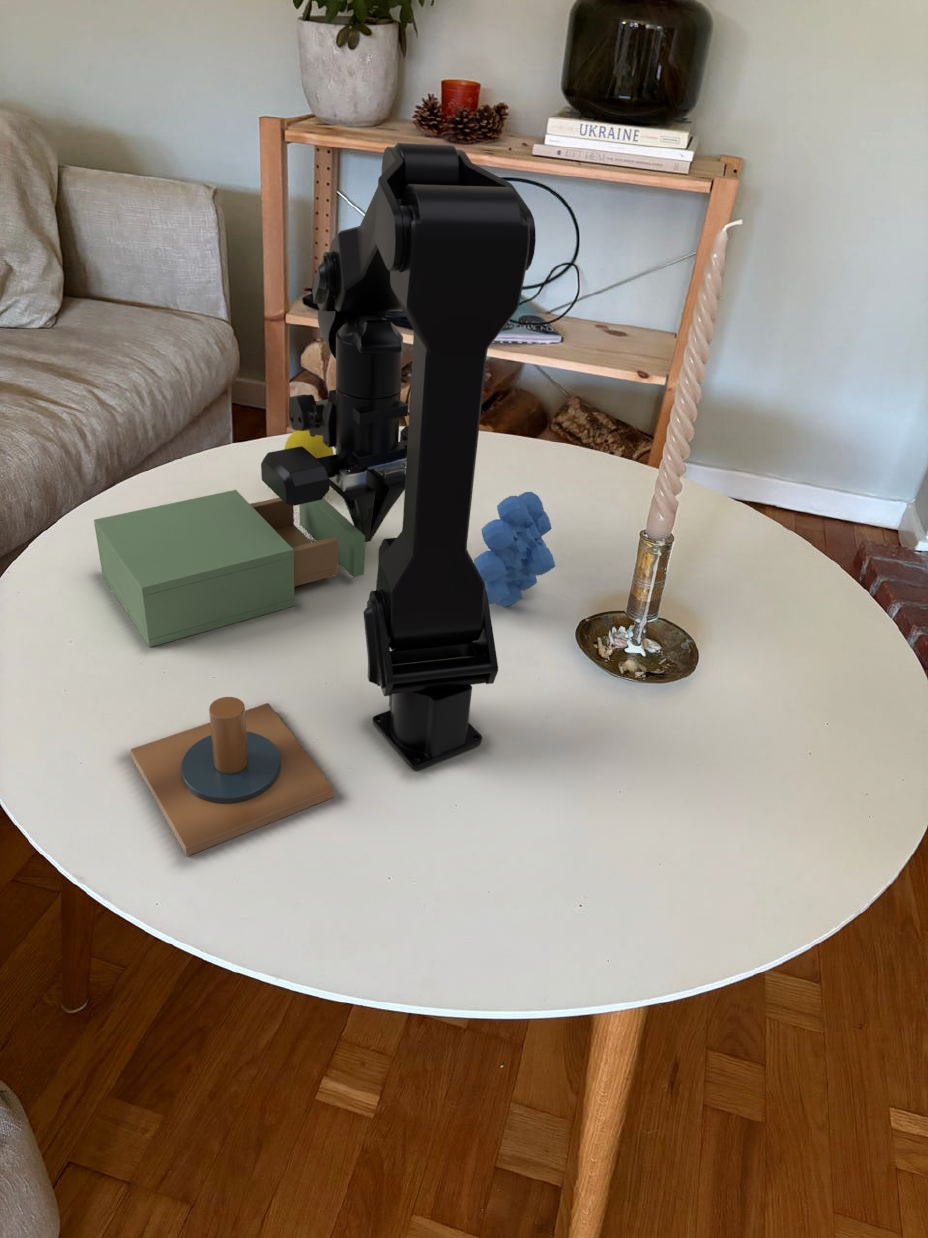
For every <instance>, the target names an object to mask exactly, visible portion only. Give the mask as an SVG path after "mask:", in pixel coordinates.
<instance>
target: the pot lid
mask: <svg viewBox="0 0 928 1238" xmlns="http://www.w3.org/2000/svg"><path fill="white" fill-rule="evenodd" d="M208 711H209V712H208V713H209V723H210V725H211V735H210V736H207V737H205V738H203V739H201V740H200V741H198V742H196V743H195V744H194V745H193V746H192V747H191V748H190V749H189V750H188V751H187V752H186V754H185V756H184V758H183V760H182V763H181V775H182V779H183V782H184V784H185V786H186V787H187V789H188V790H189V791H190V792H191V793H193V794H194V795H195V796H197V797H199V798H201V799H203V800H206V801H210V802H214V803H237V802H242V801H246V800H249V799H252V798H254V797H257V796H259V795H260V794H262V793H264V792H265V791H266V790H268V789H269V788H270V787H271V786H272V785H273V784H274V782H275V781H276V779H277V778H278V776H279V773H280V769H281V759H280V754H279V752H278V750H277V748H276V747H275V745H274V744H273V743H272V742H271V741H269V740H268V739H267V738H265V737H263V736H261V735H259V734H256V733H252V732H248V731H246V717H245V711H246V706H245V703H244V702H243V701H242V700H241V699H240V698H238V697H235V696H223V697H219V698H216V699H215V700H213V702H211V704H210V705H209V708H208Z"/></svg>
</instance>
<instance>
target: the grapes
mask: <svg viewBox="0 0 928 1238" xmlns="http://www.w3.org/2000/svg"><path fill="white" fill-rule="evenodd" d="M496 510H497V514H498V517H499V519H498V518H497V519H496V518H495V519H493V520H491V521H489V522H487V523H486V524H485V525H484V526H483V527H482V528H481V530H480V531H481V537H482V539H483V542H484V544H485V545H486V547H487V548H488V550H485V551H484V552H482V553H480V554H479V555H478V556H477V557H475V558H474V559H473V562H474V564H475V566H476V568H477V569H478V571H479V573H480V575H481V577H482V579H483V581H484V583H485V589H486V592H487V597H488V602H489V605H493V604H498V605H499V606H501V607H503V608H506V607H510V606H513V605H515V604H517V603H518V602H519V601H521V599H523V595H522V592H524V591H526V590H528V589H531V588H532V587H534V586H535V585H536V584H537V583H538V580H537V576H543V575H546V574H547V573H549V572H550V571H552V570H553V569H554V568H555V567H556V564H555V559H554V556H553V553H552V552H551V550H550V549H549V547H547V544H546V543H545V541H544V540H543V536H544V535H547V534H548V533H549V532H550V531H551V530H552V529H553V528H552V524H551V520H550V517H549V516H548V513H547V512H546V511H545V508H544V505H543V502H542V500H541V498H540V496H539V495H538V494H536V493H535V492H532V491H526V492H523V493H521V494H519V495H509V496H507V497H506V498H504V499H503V500H501V501H500V502H499V503H498V504H497V505H496Z"/></svg>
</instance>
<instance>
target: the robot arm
mask: <svg viewBox="0 0 928 1238" xmlns="http://www.w3.org/2000/svg"><path fill="white" fill-rule="evenodd" d="M377 181H378V182H377V187H376V189H375V192H374V193H373V196H372V198H371V200H370V202H369V205H368V207H367V209H366V212H365V214H364V216H363V217H362V221H361V222H360V225H359V226H355V227H350V228H348V229H346V228H345V229H343V230H342V229H341V230H340V231H339V232H338V233H337V234H336V235H335V236H334V237H333V239H332V240H331V242H330V246H329V251H324V252H323V255H322V261H321V263H320V264H319V265H318V266H317V269H316V273H315V277H314V281H313V285H312V290H311V291H312V302H313V304H315V305H317V307H318V311H317V324H318V328H319V330H320V333H321V334H322V336H323V339H324V341H325V342H326V345H327V347H328V348H329V351H330V353H331V355H332V356H333V358H334V359H335V389H331V390H328V394H327V399H321V400H316V398H315V396H314V395H313V394H298V395H293V396H289V398H288V399H289V400H288V417H289V422H290V426H291V428H292V430H294V431H306V430H309V433H310V436H311V437H315V435H319V436H323V443H324V444H325V445H326V446H327V447H329V448H330V447H332V448H334V449H335V454H334V455H330V456H325V457H320V458H315V457H314V456H313V455H312V454H311V453H310V452H308V451H307V450H306V449H305V448H304V447H303V446H300V447H295V448H290V449H284V448H283V449H279V450H274V451H269V452H267V453H266V454H265V456H264V457H263V459H262V461H261V463H260V471H261V481H262V482H263V483H264V484H265V485H266V486H267V487H268V488H269V489H270V490H271V491H272V492H273V493H274V494H275V495H276V496H277V498H280V499H281V500H282V501H283V502H285V503H286V504H288V505H294V507H296V506H299V505H300V504H305V503H309V502H313V501H318V500H322V498H325V496H326V495H327V494H328V492H329V491H330V488H331V490H333V491H334V492H335V493H336V494H338V495H339V496H340V497H341V498H342V499H343V502H344V503H345V505H346V509H347V510H348V514H349V516H350V519H351V521H352V524H353V525H354V526H355V527H356V528H357V529H358V530H359V531H360V532H361V533H362V534H363V535H365V544H366V543H370V542H372V540H373V538H374V537H375V535H376V533H377V532H378V530H379V528H380V527H381V526H382V524H383V522H384V520H385V518H386V517H387V515H388V514H389V512H390V510H391V509H392V508H393V506H394V505H395V504H396V503H397V501H398V500H399V499H400V497H401V496H402V495H403V494H404V495H403V514H402V528H401V531H400V533H399V534H398V535H397V537H388V538H387V537H386V538H383V540H382V541H381V543H380V545H379V547H378V550H377V553H378V557H377V559H378V564H377V572H376V573H377V574H376V577H377V578H376V585H375V590H371V591H370V592H369V597H368V600H367V601H366V608H365V609H364V610H363V624H364V633H365V643H366V654H367V679H368V682H370V683H372V684H374V685H377V687H380V690H381V692H382V695H383V697H388V700H389V701H388V707H389V710H387V711H384V712H381V713H379V714H376V715H374V716H373V717H372V725H373V727H375V729H376V730H377V731H378V732H379V734H380V735H381V736H382V737H383V738H384V740H386V741H387V743H388V744H389V745H390V747H392V748H393V750H394V751H395V752H396V753H397V754H398V755H399V757H400V758H401V759H402V760H403V761H404V762H405V764H406V765H407V766H408V767H409V768H410V769H411V770H414V771H419V770H421V769H423V768H427V767H428V766H431V765H433V764H436V763H438V762H441V761H443V760H446V759H448V758H451V757H453V756H456V755H458V754H460V753H463V752H465V751H467V750H470V749H472V748H476V747H478V746H479V745H481V744H482V742H483V736H482V735H481V734H480V732H479V731H478V730H477V729H476V728H475V727H474V726H473V725H472V724H471V723H470V722H469V719H470V711H471V703H472V702H471V701H472V692H473V686H472V685H481V684H486V685H491V684H494V683H495V680H496V677H497V675H498V672H499V665H498V657H497V649H496V643H495V636H494V630H493V623H492V617H491V609H490V603H489V602H488V597H487V592H486V589H485V583H484V581H483V579H482V577H481V575H480V573H479V571H478V569H477V568H476V566H475V564H474V559H473V558H472V557H471V554H470V552H469V551H468V538H469V528H470V522H471V521H470V520H471V519H470V518H471V510H472V501H473V492H474V491H473V489H474V481H475V471H476V463H477V462H476V461H477V453H478V452H477V451H478V442H479V441H478V440H479V434H480V425H481V416H482V415H481V413H482V403H483V396H484V395H483V394H484V386H485V385H484V383H485V375H486V366H487V356H488V350H489V347H490V346H491V345H492V344H493V342H494V341H495V340H496V338H497V337H498V336H499V335H500V333H502V331H503V330H504V328H505V327H506V325H507V324H508V323H509V321H510V320H511V319H512V318H513V316H515V314H516V312H517V311H518V310H519V307H520V305H521V297H522V293H523V289H524V288H523V287H524V281H525V278H526V277H525V276H526V271H529V268H530V267H531V266H532V263H533V259H534V256H535V250H536V242H537V241H536V239H537V237H536V224H535V218H534V216H533V214H532V211H531V209H530V208H529V206H528V205H527V204H526V202H525V200H524V199H523V198H522V197H521V195H520V194H519V192H518V190H517V189H516V188H515V186H514V185H513V184H512V183H511V182H510V181H508V180H506V179H504V178H502V177H500V176H498V175H496V174H495V173H493V172H491V171H488V170H487V169H485V168H483V167H481V166H479V165H477V164H475V163H473V162H472V161H471V159H470V158H469V156H468V155H467V152H465V151H464V150H463V149H457V148H456V146H454V145H451V144H433V143H413V142H411V143H410V142H409V143H408V142H397V143H396V144H395V145H394V146H386V147H385V149H384V151H383V155H382V160H381V175H380V176H379V177H378V179H377ZM386 312H404V314H405V317H406V319H407V320H408V322H409V324H410V326H411V329H412V330H413V332H412V333H413V337H412V338H413V339H412V340H413V341H412V342H413V343H412V358H411V373H410V374H411V375H410V376H411V377H410V391H409V405H408V404H407V403H405V402H404V401H403V400H402V399H401V398H402V397H401V394H402V369H403V349H404V336H403V334H402V333H401V330H399V329H398V327H397V326H396V325H395V324H394V323H393V322H392V321H391V320H390V319H388V318H387V315H386ZM405 417H408V425H406V426H404V427H403V428H402V429H401V430H400V419H401V418H405Z"/></svg>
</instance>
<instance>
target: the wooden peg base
mask: <svg viewBox="0 0 928 1238" xmlns="http://www.w3.org/2000/svg"><path fill="white" fill-rule="evenodd" d="M245 717H246V731H248V732H252V733H256V734H259V735H261V736H263V737H265V738H267V739H268V740H269V741H271V742H272V743H273V744H274V745H275V747H276V748H277V750H278V752H279V754H280V759H281V769H280V773H279V776H278V778H277V779H276V781H275V782H274V784H273V785H272V786H271V787H270V788H269V789H268V790H266V791H265V792H264V793H262V794H260V795H259V796H257V797H254V798H252V799H249V800H246V801H242V802H237V803H214V802H210V801H206V800H203V799H201V798H199V797H197V796H195V795H194V794H193V793H191V792H190V791H189V790H188V789H187V787H186V786H185V784H184V782H183V779H182V775H181V763H182V760H183V758H184V756H185V754H186V752H187V751H188V750H189V749H190V748H191V747H192V746H193V745H194V744H195V743H196V742H198V741H200V740H201V739H203V738H205V737H207V736H210V735H211V725H210V722H208V723H204V724H201V725H198V726H196V727H195V726H194V727H192V728H190V729H187V730H184V731H181V732H178V733H174V734H171V735H168V736H166V737H162V738H159V739H156V740H153V741H151V742H148V743H145V744H141V745H139V746H136V747H132V748H130V750H129V752H130V757H131V759H132V761H133V763H134V765H135V767H136V768H137V770H138V772H139V774H140V775H141V777H142V779H143V781H144V782H145V785H146V786H147V788H148V790H149V792H150V793H151V796H152V797H153V799H154V801H155V802H156V804H157V806H158V808H159V809H160V811H161V813H162V815H163V817H164V818H165V820H166V822H167V824H168V825H169V828H170V829H171V831H172V833H173V834H174V836H175V838H176V840H177V842H178V843H179V845H180V847H181V849H182V851H183V852H184V854H185V856H186V857H189V856H192V855H195V854H196V853H200V852H202V851H204V850H206V849H209V848H211V847H215V846H216V845H219V844H222V843H224V842H227V841H229V840H232V839H234V838H236V837H239V836H241V835H244V834H246V833H249V832H251V831H253V830H256V829H258V828H259V829H260V828H261V827H263V826H266V825H269V824H271V823H273V822H276V821H278V820H281V819H284V818H286V817H289V816H290V815H291V816H292V815H293V814H295V813H298V812H301V811H303V810H305V809H308V808H311V807H313V806H315V805H318V804H320V803H322V802H325V801H328V800H330V799H333V798H335V789H334V787H333V786H332V785H331V783H330V782H329V781H328V780H327V778H326V777H325V775H324V774H323V773H322V772H321V770H320V769H319V768H318V766H317V765H316V764H315V762H314V761H313V760H312V758H311V757H310V755H308V753H307V752H306V750H305V749H304V748H303V747H302V745H301V744H300V742H299V741H298V740H297V738H295V736H294V734H293V733H292V731H290V729H289V728H288V727H287V725H286V724H285V723H284V721H283V720H282V719H281V718H280V716H279V715H278V713H277V712H276V711H275V710H274V708H273V707H272V705H271V704H270V703H269V702H267V703H264V704H261V705H258V706H255V707H251V708H248V709H245Z"/></svg>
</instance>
